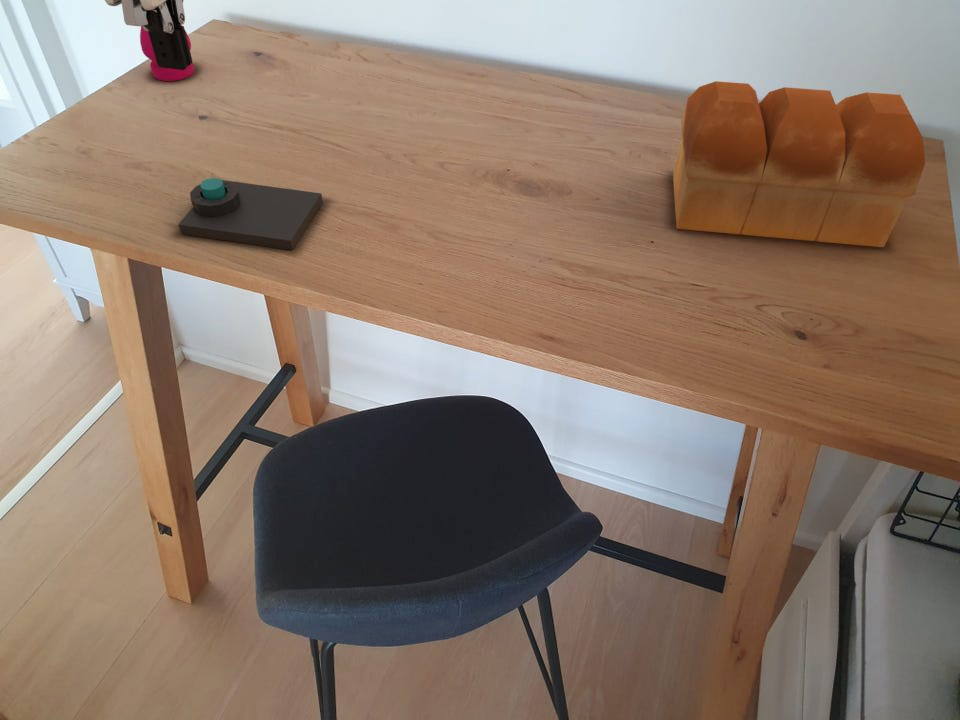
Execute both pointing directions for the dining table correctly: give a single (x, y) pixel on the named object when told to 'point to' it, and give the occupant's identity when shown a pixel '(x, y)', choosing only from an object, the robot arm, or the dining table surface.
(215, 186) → the button
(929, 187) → the dining table surface
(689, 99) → the bread
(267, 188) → the dark button base
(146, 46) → the pepper mill
